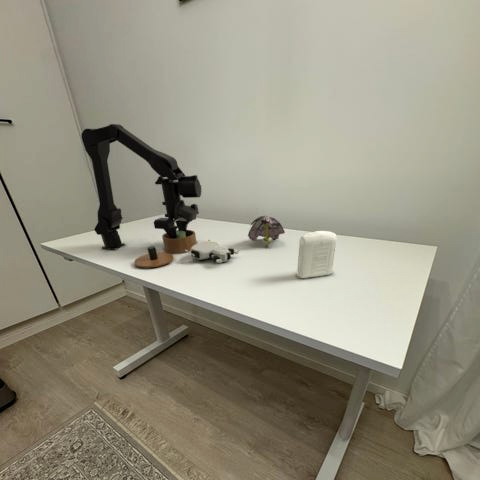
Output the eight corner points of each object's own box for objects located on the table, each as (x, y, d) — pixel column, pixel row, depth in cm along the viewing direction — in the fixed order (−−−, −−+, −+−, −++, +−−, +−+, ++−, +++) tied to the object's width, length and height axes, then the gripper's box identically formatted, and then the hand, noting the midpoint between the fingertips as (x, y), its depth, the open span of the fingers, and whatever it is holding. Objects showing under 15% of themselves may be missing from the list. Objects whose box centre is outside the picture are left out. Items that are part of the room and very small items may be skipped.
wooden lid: (126, 266, 93) (122, 252, 90) (151, 253, 103) (148, 240, 100) (158, 271, 88) (154, 256, 85) (181, 257, 98) (178, 243, 95)
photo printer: (327, 269, 82) (332, 227, 76) (334, 274, 79) (340, 231, 72) (294, 274, 81) (297, 231, 74) (300, 280, 77) (304, 236, 71)
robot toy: (241, 259, 96) (208, 249, 103) (241, 246, 93) (207, 237, 100) (218, 271, 87) (184, 260, 94) (218, 258, 85) (183, 247, 92)
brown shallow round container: (158, 252, 104) (155, 237, 101) (177, 242, 113) (174, 228, 110) (185, 255, 100) (183, 240, 97) (202, 244, 109) (200, 230, 106)
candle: (171, 245, 105) (168, 234, 102) (178, 241, 108) (176, 230, 106) (182, 247, 103) (180, 234, 100) (189, 242, 107) (187, 231, 104)
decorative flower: (288, 212, 105) (274, 208, 92) (292, 243, 107) (279, 243, 94) (254, 221, 112) (237, 219, 99) (258, 250, 114) (242, 251, 101)
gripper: (176, 203, 87) (184, 251, 95) (205, 193, 101) (209, 236, 109) (148, 202, 91) (158, 249, 99) (179, 193, 105) (186, 234, 113)
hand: (179, 241), depth 105 cm, fingers closed on candle, 5 cm apart
